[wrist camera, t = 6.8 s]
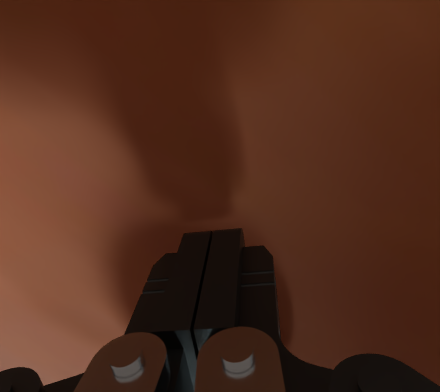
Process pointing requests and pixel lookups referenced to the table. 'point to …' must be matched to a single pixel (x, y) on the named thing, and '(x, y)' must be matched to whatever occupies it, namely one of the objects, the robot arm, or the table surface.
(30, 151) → the table surface
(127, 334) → the robot arm
